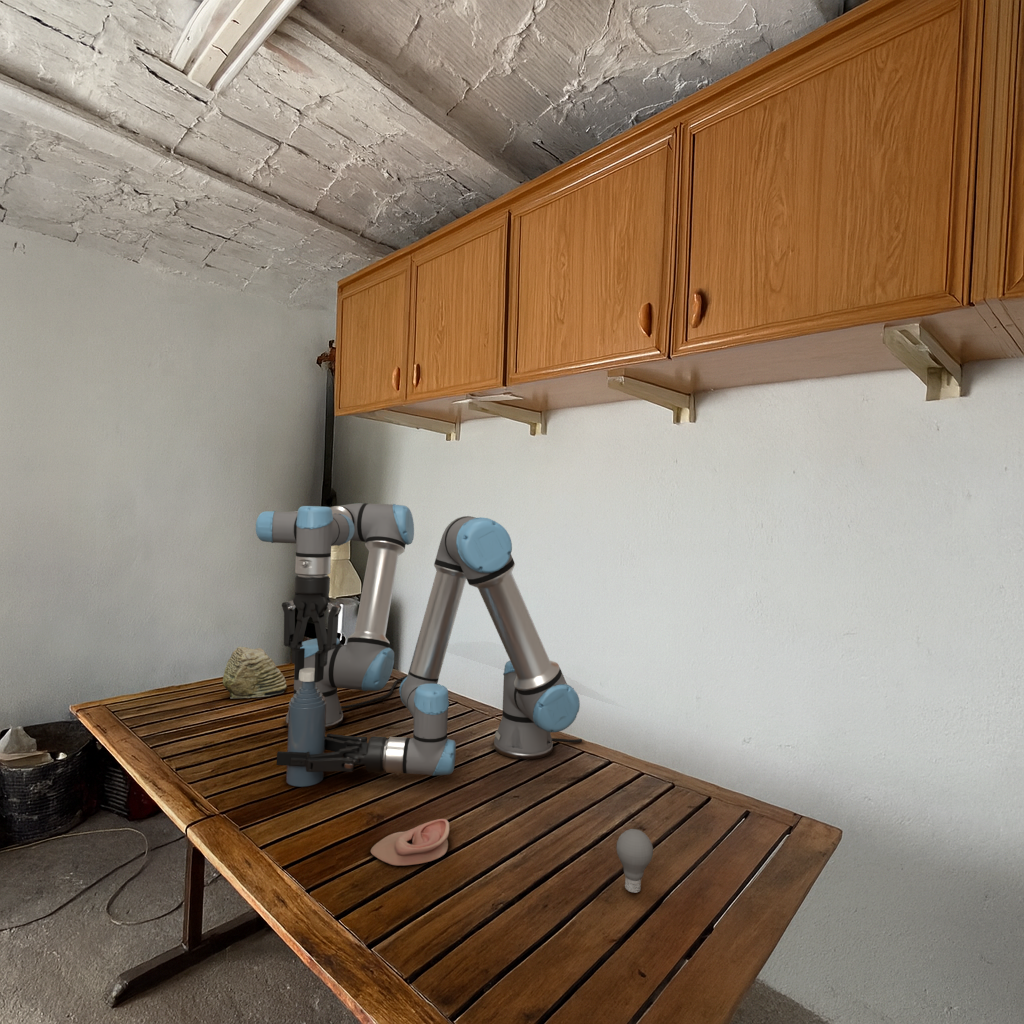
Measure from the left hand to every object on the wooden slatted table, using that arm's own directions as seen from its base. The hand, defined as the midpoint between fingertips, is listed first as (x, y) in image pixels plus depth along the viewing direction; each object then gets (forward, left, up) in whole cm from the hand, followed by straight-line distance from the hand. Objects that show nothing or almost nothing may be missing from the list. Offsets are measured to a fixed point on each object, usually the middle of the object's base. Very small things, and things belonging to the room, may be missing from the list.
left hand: (308, 679), depth 142 cm
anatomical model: (+4, +39, -22) cm, 45 cm away
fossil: (-22, -62, -22) cm, 69 cm away
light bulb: (-13, +75, -22) cm, 79 cm away
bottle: (0, 0, -22) cm, 22 cm away
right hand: (+3, -4, -16) cm, 17 cm away
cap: (0, 0, +2) cm, 2 cm away
